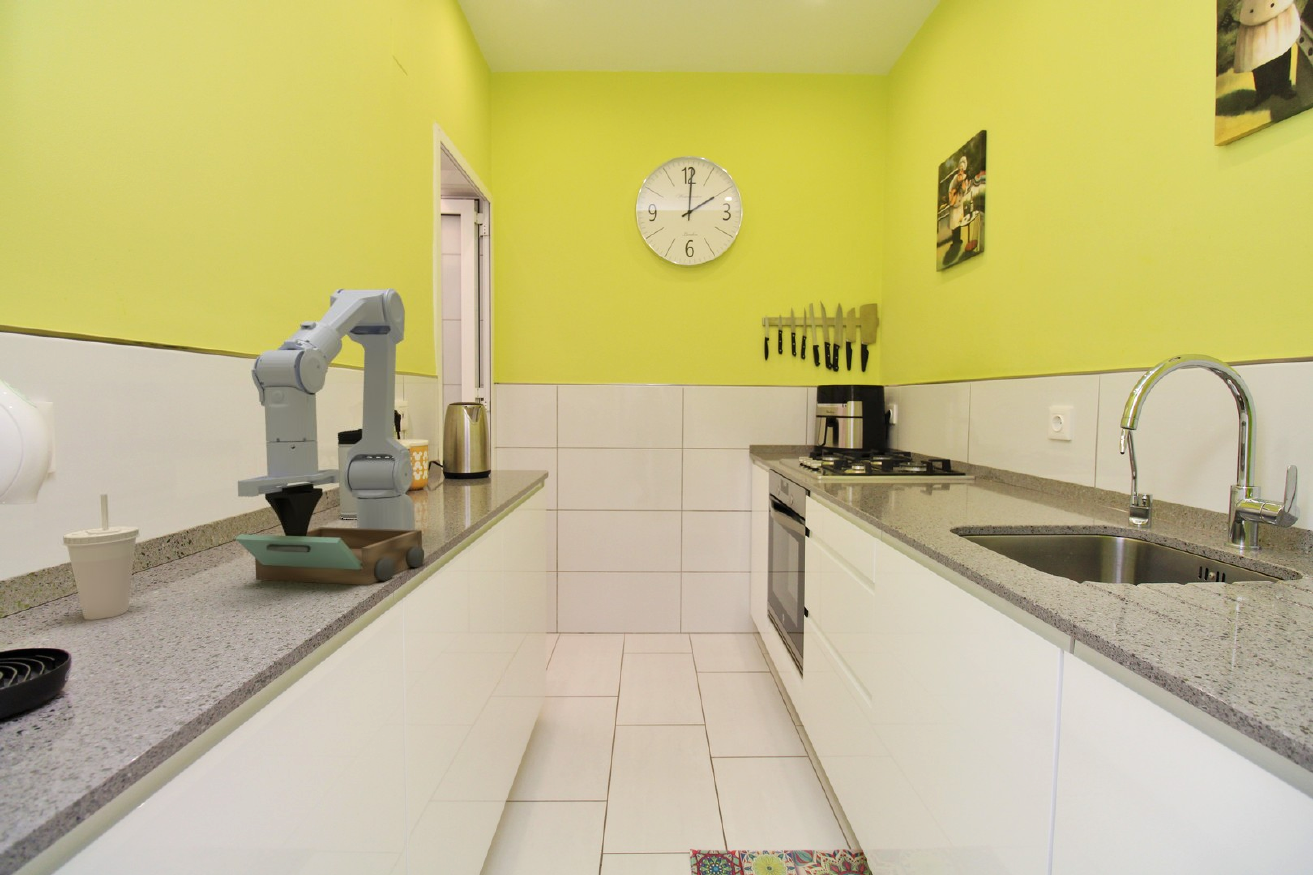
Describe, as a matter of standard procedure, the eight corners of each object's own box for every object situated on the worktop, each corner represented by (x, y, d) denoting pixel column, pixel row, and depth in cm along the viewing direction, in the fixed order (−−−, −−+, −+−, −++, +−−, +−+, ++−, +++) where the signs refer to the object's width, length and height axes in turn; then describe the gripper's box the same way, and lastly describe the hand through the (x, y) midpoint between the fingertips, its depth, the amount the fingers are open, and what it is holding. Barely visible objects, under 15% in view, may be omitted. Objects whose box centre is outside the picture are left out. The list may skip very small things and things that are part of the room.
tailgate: (266, 560, 81) (239, 534, 77) (362, 564, 78) (340, 537, 74) (259, 569, 79) (231, 544, 75) (356, 574, 76) (333, 548, 72)
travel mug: (378, 515, 132) (376, 428, 131) (357, 520, 126) (354, 429, 125) (355, 514, 134) (352, 428, 133) (333, 519, 127) (330, 429, 126)
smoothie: (96, 625, 63) (89, 498, 62) (51, 621, 64) (44, 497, 64) (157, 606, 69) (151, 490, 69) (115, 603, 70) (109, 490, 70)
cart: (316, 557, 92) (315, 526, 92) (428, 562, 88) (427, 530, 88) (250, 578, 81) (248, 543, 80) (375, 585, 77) (374, 548, 77)
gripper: (271, 444, 68) (275, 558, 68) (357, 438, 82) (360, 533, 82) (221, 444, 69) (226, 555, 70) (314, 438, 83) (318, 531, 84)
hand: (296, 543), depth 76 cm, fingers closed, pressing on tailgate
